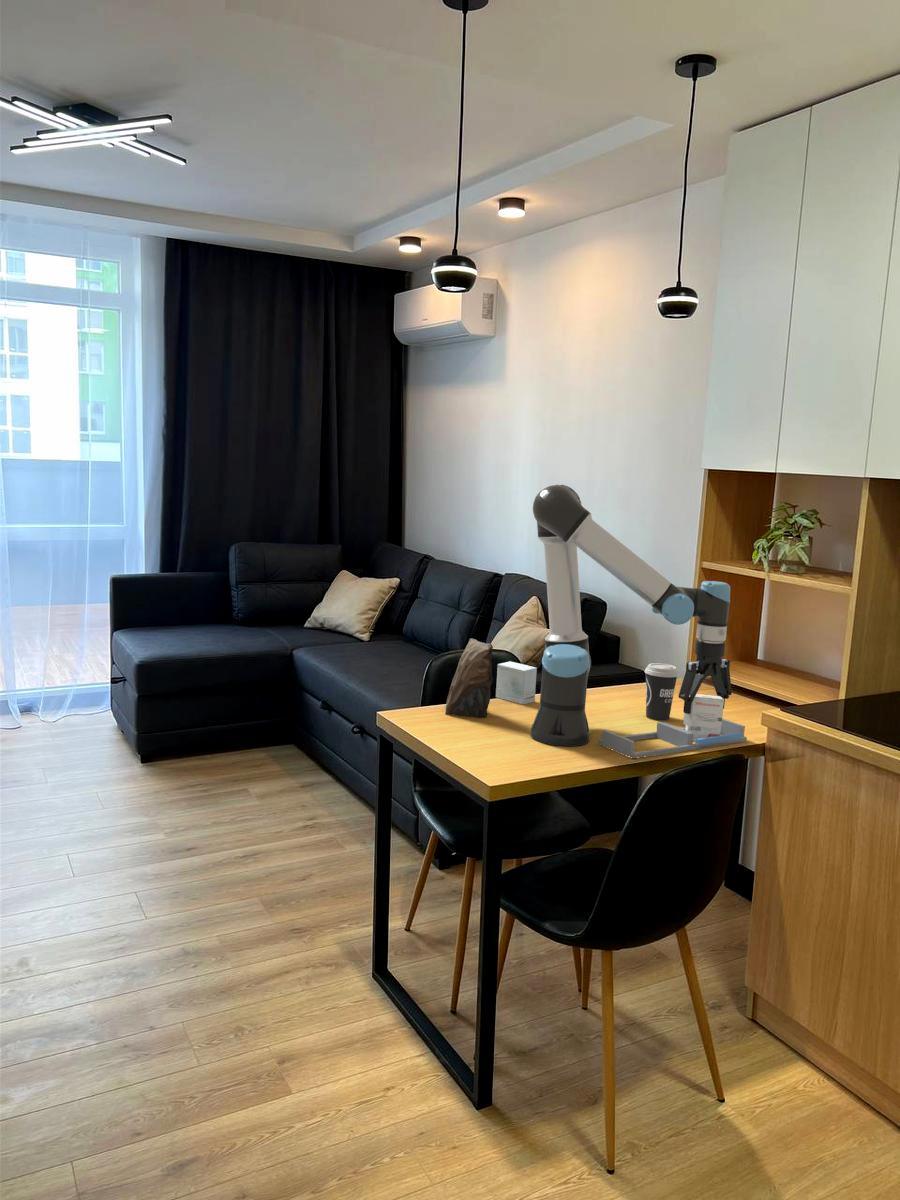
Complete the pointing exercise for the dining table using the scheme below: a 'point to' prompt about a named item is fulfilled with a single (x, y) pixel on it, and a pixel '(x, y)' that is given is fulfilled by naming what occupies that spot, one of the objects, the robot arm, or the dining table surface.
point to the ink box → (707, 716)
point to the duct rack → (673, 739)
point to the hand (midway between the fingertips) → (702, 723)
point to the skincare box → (516, 682)
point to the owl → (471, 682)
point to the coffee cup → (660, 690)
